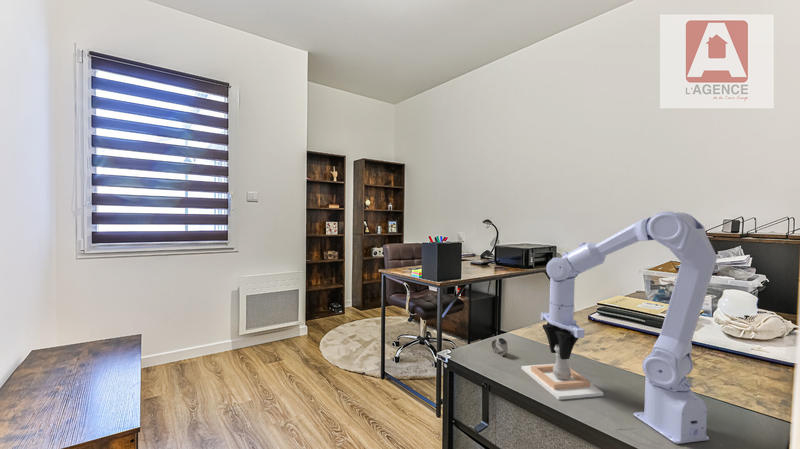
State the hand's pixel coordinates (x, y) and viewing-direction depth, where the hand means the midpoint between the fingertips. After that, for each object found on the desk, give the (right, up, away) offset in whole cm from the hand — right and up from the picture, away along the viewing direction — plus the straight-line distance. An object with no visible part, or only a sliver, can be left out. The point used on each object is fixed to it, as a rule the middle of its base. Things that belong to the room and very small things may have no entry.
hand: (559, 355), depth 86 cm
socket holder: (0, -7, 0) cm, 7 cm away
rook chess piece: (+1, -6, +1) cm, 6 cm away
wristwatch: (-10, -7, +18) cm, 21 cm away
